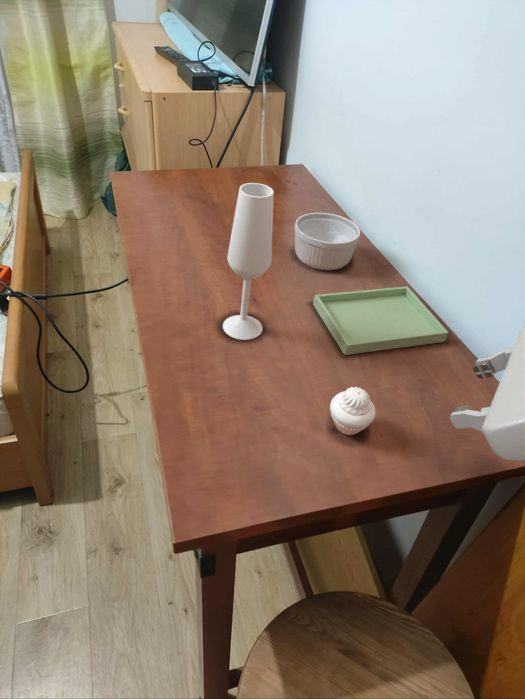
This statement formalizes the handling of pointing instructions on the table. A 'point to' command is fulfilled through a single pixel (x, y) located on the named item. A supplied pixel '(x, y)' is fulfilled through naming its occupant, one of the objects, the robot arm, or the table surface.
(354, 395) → the muffin
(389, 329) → the tray
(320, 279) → the table surface
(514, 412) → the robot arm
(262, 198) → the champagne flute
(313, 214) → the ramekin
